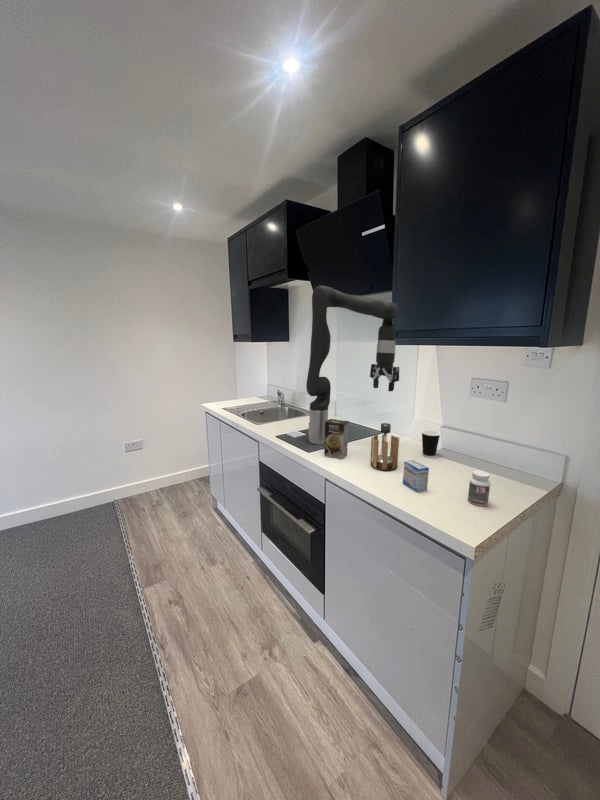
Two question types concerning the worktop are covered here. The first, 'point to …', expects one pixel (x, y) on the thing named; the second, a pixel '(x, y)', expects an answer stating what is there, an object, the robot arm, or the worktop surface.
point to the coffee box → (336, 438)
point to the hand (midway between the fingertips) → (383, 389)
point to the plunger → (385, 429)
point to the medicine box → (415, 475)
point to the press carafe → (384, 454)
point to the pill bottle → (479, 488)
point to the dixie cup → (430, 442)
